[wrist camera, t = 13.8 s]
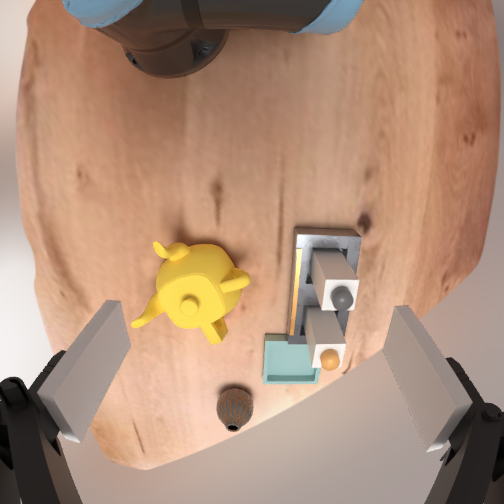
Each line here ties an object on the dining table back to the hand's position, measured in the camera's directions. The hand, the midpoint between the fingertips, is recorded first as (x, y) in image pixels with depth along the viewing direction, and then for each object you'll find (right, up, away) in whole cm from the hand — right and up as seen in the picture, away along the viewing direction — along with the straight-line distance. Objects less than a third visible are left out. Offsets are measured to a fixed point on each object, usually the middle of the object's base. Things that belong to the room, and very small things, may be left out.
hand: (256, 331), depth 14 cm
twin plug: (+10, +2, +31) cm, 33 cm away
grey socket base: (+10, -1, +33) cm, 35 cm away
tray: (+7, -15, +39) cm, 42 cm away
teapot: (-9, 0, +34) cm, 35 cm away
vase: (-3, -24, +43) cm, 49 cm away
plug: (+10, -6, +34) cm, 36 cm away
